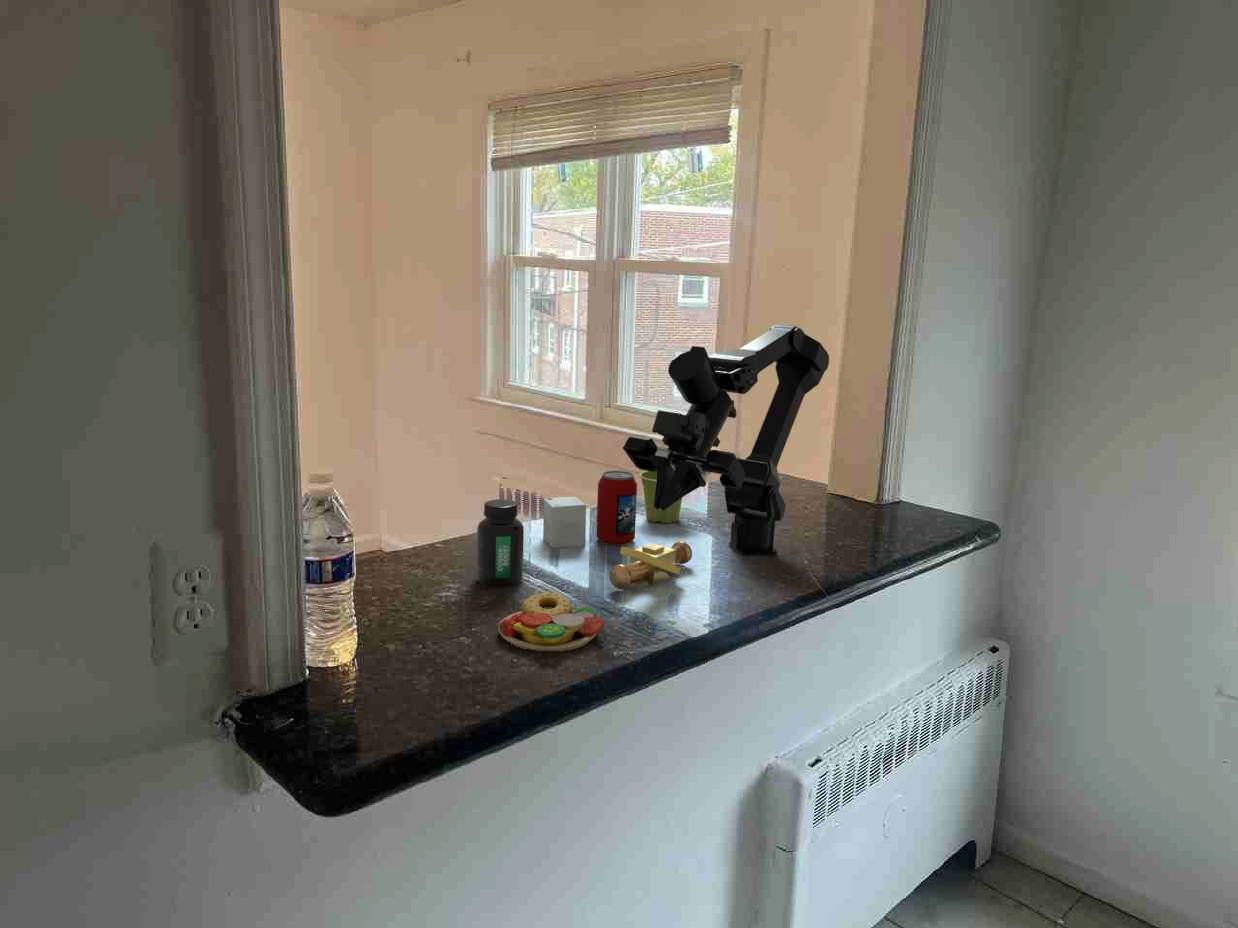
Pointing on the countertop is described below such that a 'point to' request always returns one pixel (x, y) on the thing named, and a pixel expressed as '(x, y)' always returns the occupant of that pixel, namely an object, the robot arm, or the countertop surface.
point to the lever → (654, 562)
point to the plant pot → (649, 492)
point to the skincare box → (564, 522)
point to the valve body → (649, 566)
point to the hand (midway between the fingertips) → (658, 508)
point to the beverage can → (616, 507)
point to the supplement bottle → (500, 545)
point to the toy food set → (550, 624)
